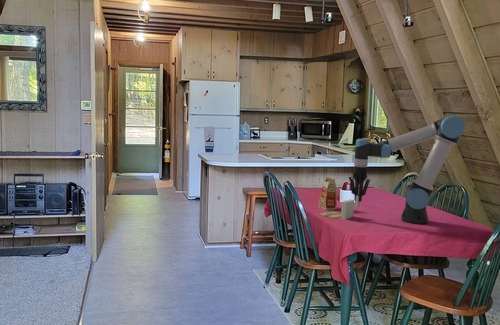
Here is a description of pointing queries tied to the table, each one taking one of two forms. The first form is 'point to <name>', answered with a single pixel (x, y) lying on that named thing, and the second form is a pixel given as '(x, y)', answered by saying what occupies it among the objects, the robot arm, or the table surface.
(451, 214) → the table surface
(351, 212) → the tile
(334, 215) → the cork mat
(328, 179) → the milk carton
